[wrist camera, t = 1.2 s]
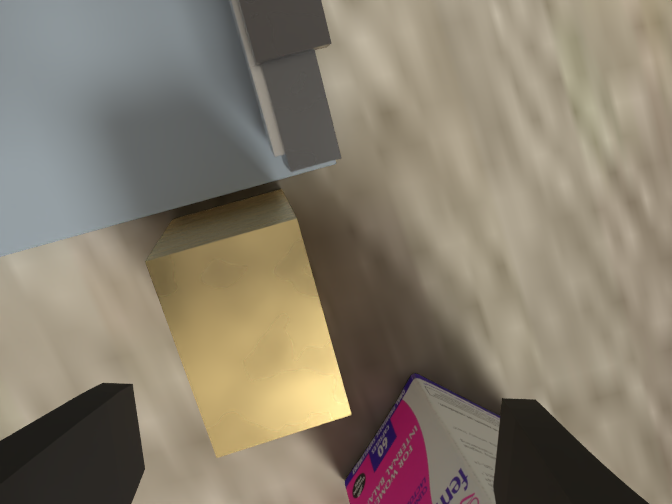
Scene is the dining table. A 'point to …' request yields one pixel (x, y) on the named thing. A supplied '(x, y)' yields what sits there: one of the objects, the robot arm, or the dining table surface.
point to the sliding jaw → (288, 76)
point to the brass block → (248, 322)
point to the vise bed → (122, 114)
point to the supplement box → (429, 451)
